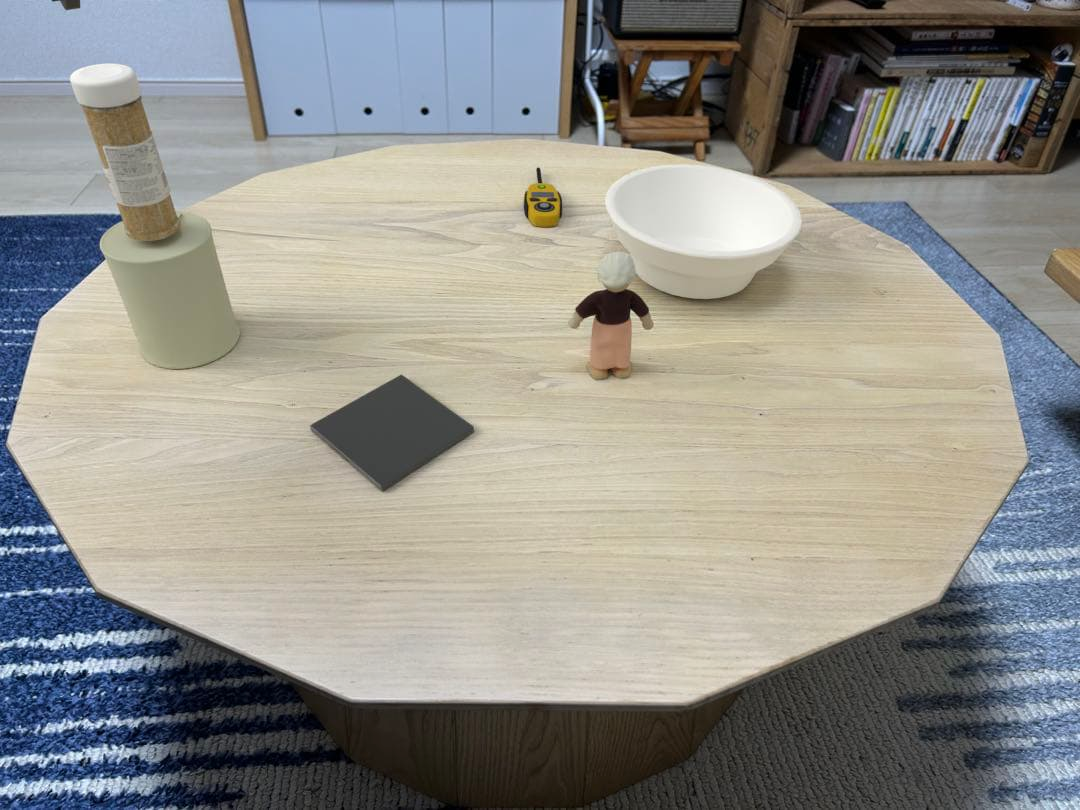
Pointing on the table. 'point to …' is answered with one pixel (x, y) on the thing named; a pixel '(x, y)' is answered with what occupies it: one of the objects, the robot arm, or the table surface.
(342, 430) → the slate coaster
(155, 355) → the can
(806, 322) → the table surface
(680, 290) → the bowl
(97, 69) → the sprinkles bottle
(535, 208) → the yellow walkie talkie
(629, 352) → the grandmother figurine
